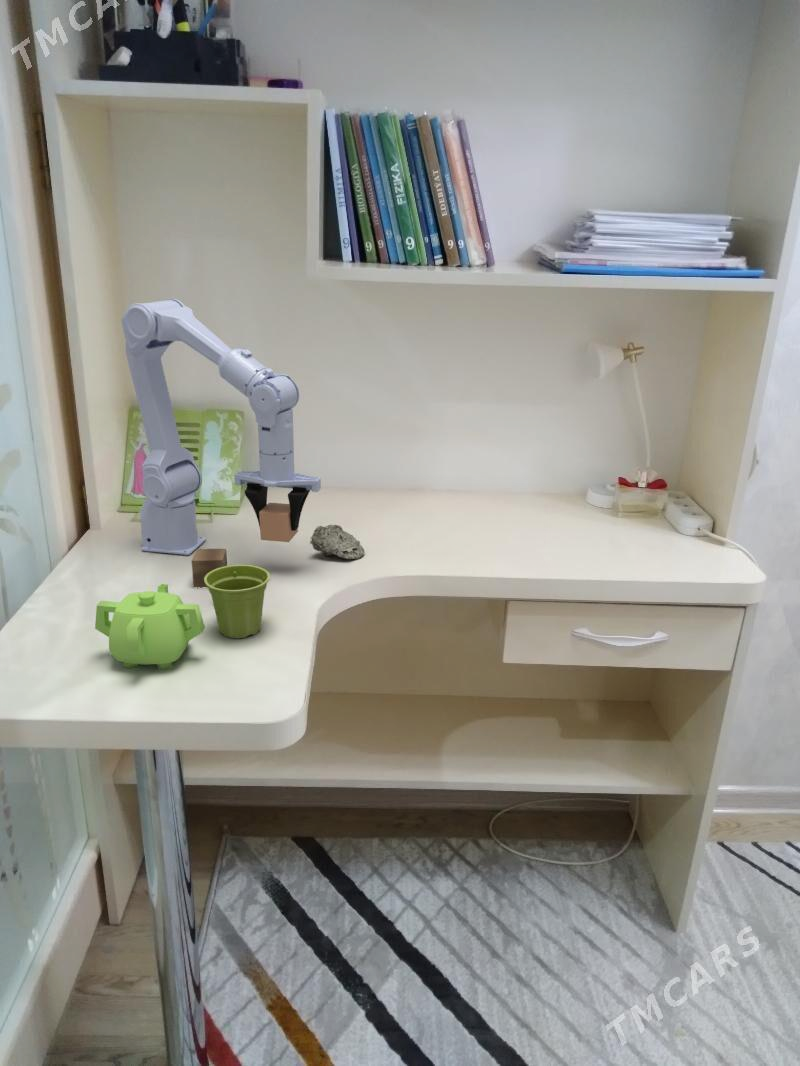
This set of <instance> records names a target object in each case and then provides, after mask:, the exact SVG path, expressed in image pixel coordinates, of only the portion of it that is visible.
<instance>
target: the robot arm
mask: <svg viewBox="0 0 800 1066" xmlns="http://www.w3.org/2000/svg"><path fill="white" fill-rule="evenodd" d="M120 322H121V325H122V330H123V334H124V338H125V355H126V358H127V363H128V368H129V371H130V374H131V375H130V376H131V381H132V383H133V388H134V392H135V396H136V399H137V405H138V408H139V412H140V416H141V421H142V424H143V428H144V432H145V437H146V440H147V445H148V448H149V453H148V455H147V456H146V458H145V460H144V462H143V464H142V465H141V470H142V481H141V482H142V490H143V493H144V495H145V497H146V499H145V500H144V502H143V504H142V505H141V509H140V515H139V516H140V518H139V519H140V529H141V538H142V539H141V540H142V547H141V551H143V552H151V553H153V552H154V553H163V554H172V555H181V556H183V555H185V556H188V555H191V554H192V553H193V552H195V551H196V549H199V547H200V546H201V545H203V543H204V542H206V540H207V537H206V536H199V535H198V527H197V526H198V525H197V524H198V523H197V513H196V501H195V500H196V497H198V495H197V494H198V493H197V492H198V491H199V490H200V489H201V487H202V484H203V476H202V472H201V469H200V468H199V466H198V465H197V463H196V461H195V459H194V454H193V452H191V451H190V450H188V449H187V448H185V447H184V446H183V445H182V443H181V439H180V435H179V430H178V427H177V422H176V418H175V414H174V410H173V406H172V400H171V397H170V393H169V388H168V384H167V380H166V376H165V371H164V367H163V363H162V362H163V361H162V357H163V355H164V353H165V352H166V351H167V350H168V348H169V347H170V345H172V344H174V342H182V343H184V344H185V345H187V346H189V347H190V348H191V349H193V350H194V351H195V352H197V353H199V354H200V355H202V356H203V357H204V358H206V359H207V360H209V361H210V362H212V363H213V364H215V365H217V366H218V373H219V376H220V377H221V379H224V381H226V382H227V383H228V384H229V385H231V386H232V387H234V388H235V389H236V390H237V391H239V392H240V393H242V394H243V395H244V396H245V397H247V398H248V403H249V405H250V407H251V409H252V411H253V412H254V415H255V422H256V423H257V431H258V433H257V435H258V436H257V437H258V439H257V440H258V459H259V461H258V462H259V470H250V471H248V470H247V471H244V470H238V471H237V472H235V473H234V474H233V477H234V486H242V485H246V489H244V496H246V498H247V500H248V501H249V503H250V505H251V506H252V508H253V511H254V513H255V516H256V519H257V522H258V526H259V527H260V518H259V512H260V511H261V510H262V509H263V508H264V507H265V506H266V505H267V504H268V491H269V488H282V489H292V490H291V491H290V492H289V493H288V494H287V500H288V504H290V512H291V531H296V529H297V528H298V529H299V526H300V525H299V524H300V520H301V519H300V518H301V515H302V512H303V509H304V505H305V504H306V500H307V498H308V495H309V493H310V492H312V493H313V492H315V493H318V492H319V491H320V490H321V488H322V485H321V484H322V480H321V477H318V476H310V475H306V474H301V473H296V472H295V454H294V453H295V451H294V450H295V446H294V444H295V442H294V410H293V408H294V407H296V406H297V404H298V403H299V401H300V400H299V399H300V391H299V388H298V385H297V383H296V382H295V381H294V379H292V377H291V376H290V375H288V374H286V373H279V374H276V373H275V372H274V370H273V369H272V368H270V367H266V366H265V365H264V364H262V363H261V362H260V361H258V360H257V359H256V358H254V357H253V352H252V351H250V350H249V349H247V348H245V349H243V348H234V349H231V347H229V346H228V345H226V343H224V341H223V340H221V339H220V338H219V337H218V336H217V335H215V333H214V332H212V331H211V330H210V329H209V328H208V327H206V326H205V325H204V324H203V323H202V322H201V321H200V320H198V319H197V318H196V317H195V316H194V312H193V309H192V308H191V307H188V306H186V305H185V304H184V303H183V302H182V301H180V300H179V299H176V298H168V299H166V300H159V301H153V302H152V301H151V302H144V303H141V302H137V303H132V304H131V305H129V306H128V308H127V309H126V310H125V312H124V314H123V316H122V317H121V319H120Z"/></svg>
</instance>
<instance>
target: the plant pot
mask: <svg viewBox="0 0 800 1066" xmlns="http://www.w3.org/2000/svg"><path fill="white" fill-rule="evenodd" d="M229 565H230V566H229ZM229 565H227V566H225V567H220V568H217V569H215V570H213V571H211V572H209V573H208V574H207V575H206V576H205V578H204V582H205V584H206V586H207V587H208V588H207V589H208V592H209V594H210V595H211V599H212V604H213V607H214V612H215V617H216V621H217V626H218V630H219V632H220V633H222V634H223V636H224V637H227V638H231V639H244V638H245V639H246V638H247V637H248V636H250V635H256V634H257V633H258V631H261V627H262V626H261V625H262V620H263V619H262V617H263V608H264V599H265V598H264V597H265V591H266V589H267V586H268V585H267V584H268V582H269V581H270V580H271V579H270V577H271V576H270V573H269V571H267V569H265V568H263V567H260V566H256V565H250V564H229Z"/></svg>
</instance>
